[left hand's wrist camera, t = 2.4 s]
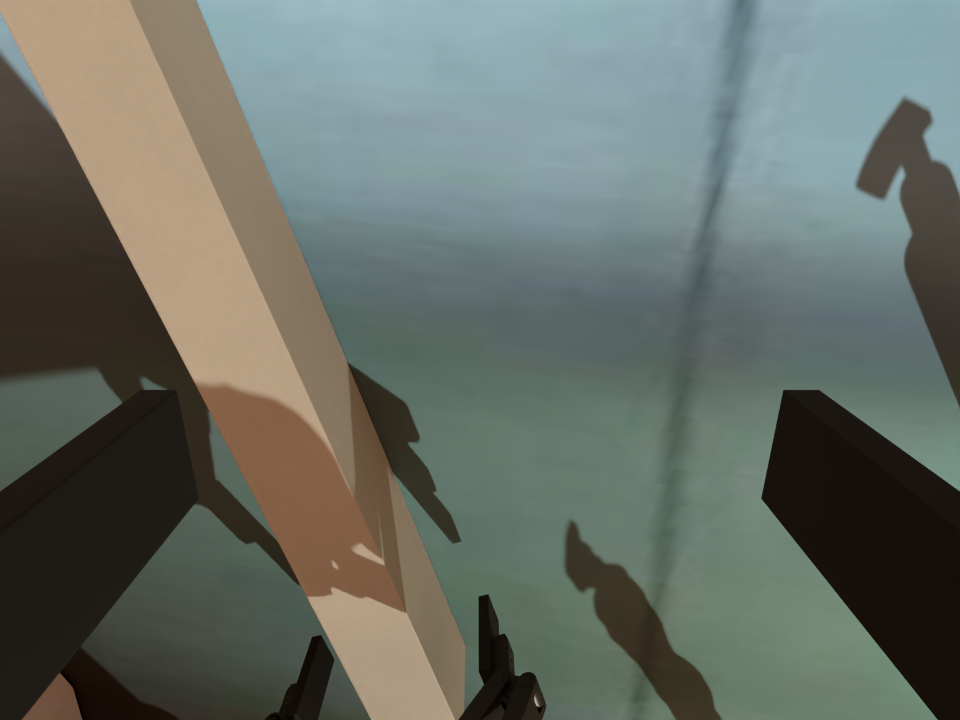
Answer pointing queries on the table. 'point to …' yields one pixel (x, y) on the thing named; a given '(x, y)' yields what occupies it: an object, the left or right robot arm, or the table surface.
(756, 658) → the table surface
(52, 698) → the container
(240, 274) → the post
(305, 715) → the right robot arm
